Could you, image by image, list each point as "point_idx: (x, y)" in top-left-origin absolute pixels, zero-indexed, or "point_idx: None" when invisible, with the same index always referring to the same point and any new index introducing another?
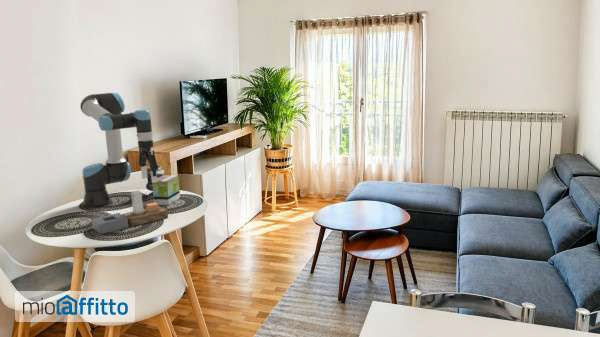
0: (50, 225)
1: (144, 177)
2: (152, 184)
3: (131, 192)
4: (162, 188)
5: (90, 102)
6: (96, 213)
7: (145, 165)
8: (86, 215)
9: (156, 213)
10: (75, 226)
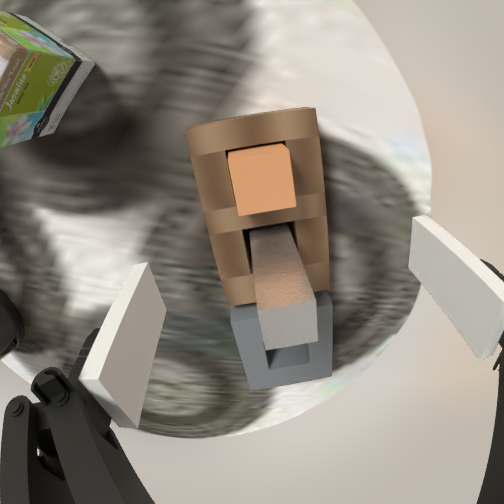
0: (159, 418)
1: (157, 300)
2: None
3: (278, 346)
4: (29, 87)
5: None
6: None
7: (73, 387)
8: None
9: (322, 170)
10: (199, 391)
